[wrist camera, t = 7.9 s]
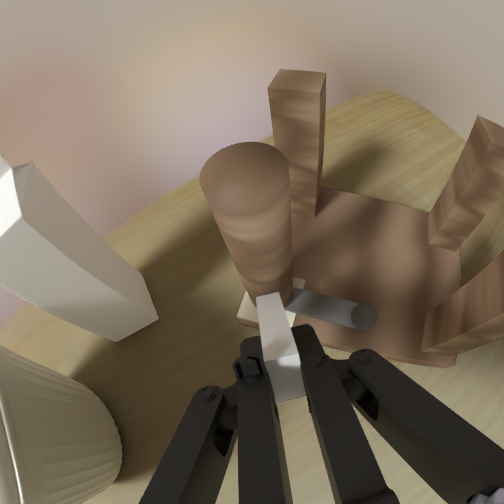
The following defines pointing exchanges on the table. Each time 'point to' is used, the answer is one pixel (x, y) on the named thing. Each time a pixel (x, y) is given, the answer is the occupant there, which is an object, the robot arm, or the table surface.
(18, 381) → the canister
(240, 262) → the hinged leg
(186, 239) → the table surface
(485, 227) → the table surface
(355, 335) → the stool seat
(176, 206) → the table surface
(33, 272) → the milk
